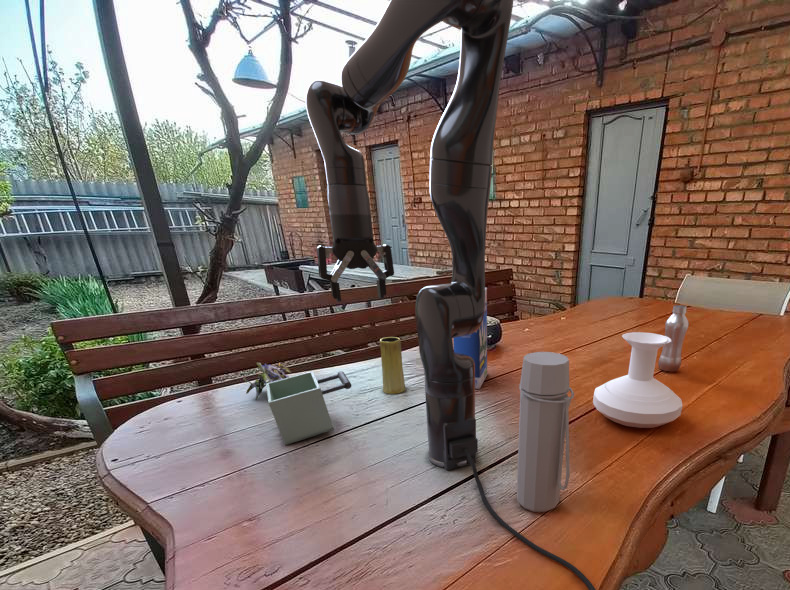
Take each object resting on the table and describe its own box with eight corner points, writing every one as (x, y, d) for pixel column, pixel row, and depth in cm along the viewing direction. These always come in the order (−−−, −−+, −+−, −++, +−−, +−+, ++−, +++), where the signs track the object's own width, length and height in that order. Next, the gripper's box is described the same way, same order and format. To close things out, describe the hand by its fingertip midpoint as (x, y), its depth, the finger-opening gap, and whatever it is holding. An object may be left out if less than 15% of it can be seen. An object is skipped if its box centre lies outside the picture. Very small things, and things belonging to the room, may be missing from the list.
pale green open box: (362, 420, 94) (350, 379, 89) (285, 445, 88) (268, 402, 83) (351, 401, 104) (340, 363, 99) (281, 422, 98) (265, 383, 93)
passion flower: (291, 413, 115) (299, 385, 107) (246, 416, 108) (250, 387, 101) (284, 380, 120) (290, 352, 112) (240, 381, 113) (244, 351, 106)
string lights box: (480, 389, 117) (479, 294, 107) (453, 388, 118) (450, 293, 108) (487, 373, 129) (487, 287, 119) (463, 372, 130) (461, 286, 120)
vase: (408, 386, 119) (404, 336, 113) (402, 394, 114) (397, 342, 108) (387, 385, 120) (382, 336, 114) (380, 393, 114) (374, 342, 108)
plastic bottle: (652, 368, 134) (663, 305, 126) (668, 366, 137) (679, 303, 129) (668, 375, 129) (680, 309, 121) (684, 372, 132) (697, 307, 124)
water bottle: (505, 501, 71) (508, 358, 61) (535, 482, 76) (543, 347, 66) (549, 528, 65) (560, 373, 55) (578, 505, 70) (594, 360, 60)
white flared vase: (605, 394, 114) (613, 323, 107) (684, 410, 105) (700, 334, 97) (579, 422, 98) (587, 341, 91) (670, 444, 89) (688, 356, 81)
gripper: (313, 211, 74) (326, 305, 80) (393, 212, 80) (399, 299, 87) (307, 212, 80) (321, 299, 87) (382, 213, 86) (389, 294, 93)
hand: (360, 299), depth 87 cm, fingers open, 8 cm apart
